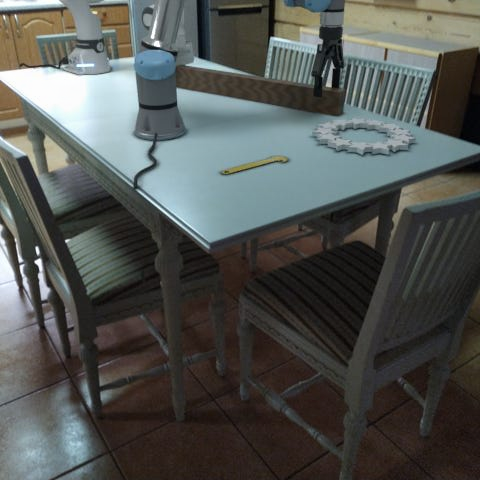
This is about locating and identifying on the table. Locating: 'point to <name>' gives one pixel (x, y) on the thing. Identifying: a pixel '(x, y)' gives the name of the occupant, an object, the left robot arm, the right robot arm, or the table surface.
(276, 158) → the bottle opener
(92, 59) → the left robot arm
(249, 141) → the table surface
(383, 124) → the decorative wreath
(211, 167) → the table surface
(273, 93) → the bar
